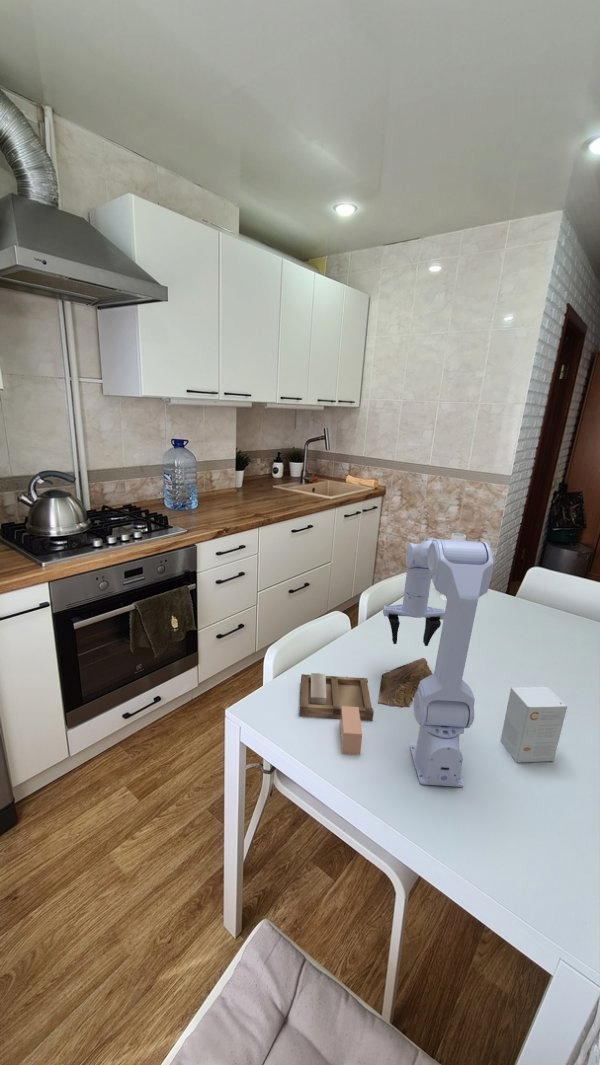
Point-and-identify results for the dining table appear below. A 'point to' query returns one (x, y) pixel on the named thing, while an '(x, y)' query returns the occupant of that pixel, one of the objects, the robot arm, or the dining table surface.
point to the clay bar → (350, 730)
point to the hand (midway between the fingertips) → (409, 643)
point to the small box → (533, 724)
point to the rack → (334, 696)
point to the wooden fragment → (402, 683)
